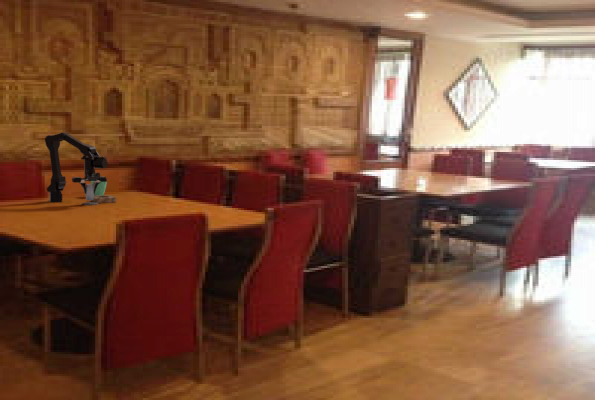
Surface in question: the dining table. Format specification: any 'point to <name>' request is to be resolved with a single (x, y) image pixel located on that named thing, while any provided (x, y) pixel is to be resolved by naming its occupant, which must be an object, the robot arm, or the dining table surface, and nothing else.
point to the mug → (100, 188)
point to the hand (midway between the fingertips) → (89, 194)
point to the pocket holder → (104, 199)
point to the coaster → (89, 203)
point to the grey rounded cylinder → (89, 192)
